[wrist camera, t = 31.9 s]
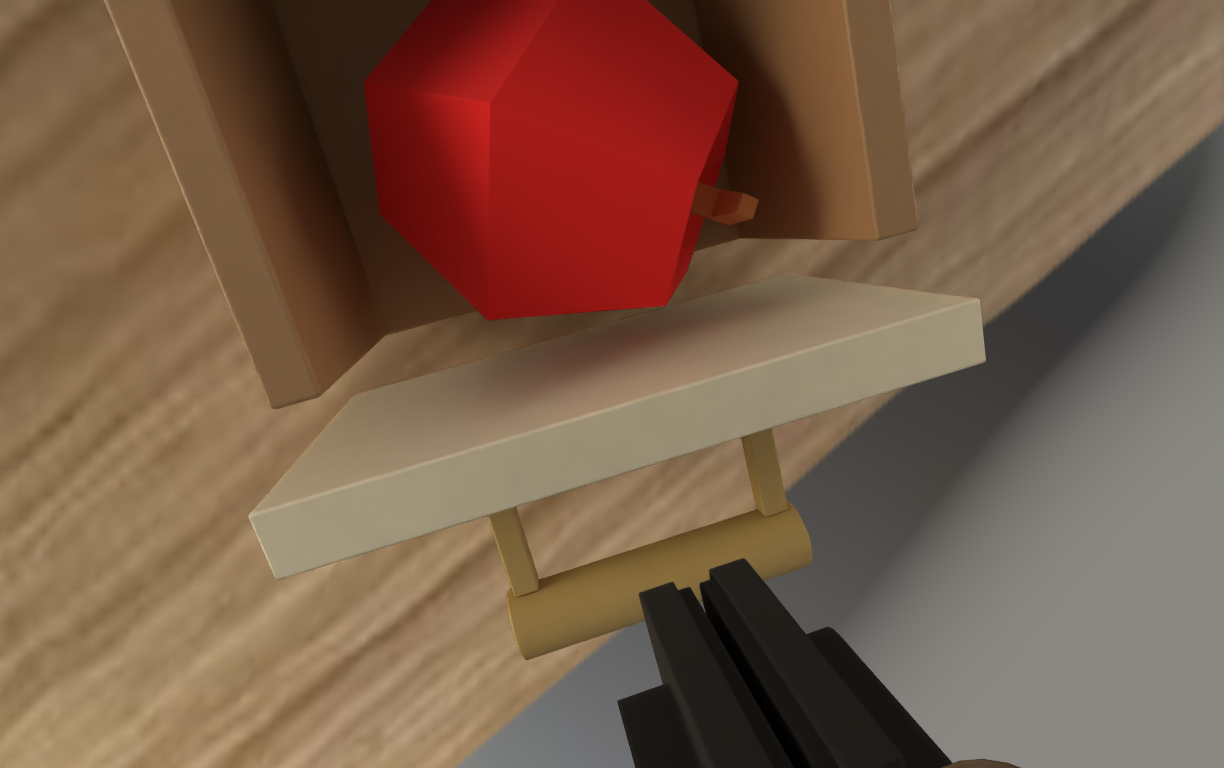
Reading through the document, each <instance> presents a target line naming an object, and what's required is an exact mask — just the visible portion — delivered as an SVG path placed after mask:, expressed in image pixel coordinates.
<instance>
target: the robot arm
mask: <svg viewBox="0 0 1224 768" xmlns="http://www.w3.org/2000/svg"><path fill="white" fill-rule="evenodd" d="M709 577H710V580H707V581H704V582H701V583H700V584H699V585H700V591H701V596H702V600H703V604H704V608H705V612H706V613H705V612H704V610H703V608H702V607H701V605H700V603H699V601H698V599H697V598H696V596H695V594H694V592H693V591H692V589H691V588H690V587H686V588H683V589H680V590H678V589H677V587H676V585H675V584H674V582H669V583H666V584H663V585H660V586H657V587H654V588H651V589H648V590H645V591H642V592H639V598H640V602H641V606H642V610H643V614H644V617H645V621H646V624H647V628H648V632H649V635H650V639H651V643H652V646H653V650H654V654H655V657H656V661H657V665H658V668H659V672H660V675H661V679H662V683H663V685H661V686H658V687H655V688H652V689H650V690H647V691H644V692H641V693H638V694H635V695H632V696H630V697H627V698H624V699H621V700H618V706H619V710H620V713H621V717H622V721H623V724H624V728H625V731H626V735H627V739H628V742H629V746H630V750H631V753H632V757H633V761H634V764H635V768H1020V767H1017V766H1015V765H1012V764H1010V763H1006V762H1000V761H992V760H986V759H976V760H963V761H958V762H955V763H952V762H951V761H950V760H949V758H948V757H947V756H946V755H945V754H944V753H943V752H942V750H941V749H940V748H939V747H938V746H937V745H936V744H935V743H934V741H933V740H932V739H931V738H930V737H929V736H928V735H927V733H926V732H924V730H923V729H922V728H921V727H920V726H919V724H918V723H917V722H916V721H915V720H914V719H913V718H912V717H911V715H910V714H909V713H908V712H907V711H906V710H905V709H904V707H903V706H902V705H901V704H900V703H899V702H898V701H897V699H896V698H895V697H894V696H893V695H892V694H891V693H890V692H889V690H888V689H887V688H886V687H885V686H884V685H883V684H882V683H881V681H880V680H879V679H878V678H877V677H876V676H875V675H874V674H873V672H872V671H871V670H870V669H869V668H868V667H867V666H866V664H865V663H864V662H863V661H862V660H861V659H860V658H859V656H858V655H857V654H856V653H855V652H854V651H853V650H852V649H851V647H850V646H849V645H848V644H847V643H846V642H845V641H844V639H843V638H842V637H841V636H840V635H839V634H838V633H837V632H836V631H835V630H834V629H832V628H829V627H825V628H823V629H820V630H817V631H814V632H811V633H809V634H805V632H804V631H803V630H802V629H801V627H800V626H799V625H798V624H797V622H796V621H795V620H794V619H793V617H792V616H791V615H790V614H789V612H788V611H787V610H786V609H785V607H784V606H783V605H782V604H781V602H780V601H779V600H778V599H777V597H776V596H775V595H774V594H773V593H772V591H771V590H770V589H769V587H768V586H767V585H766V584H765V582H764V581H763V580H762V579H761V577H760V576H759V575H758V574H757V572H756V571H755V570H754V569H753V567H752V566H751V565H750V564H749V562H748V561H747V560H746V559H745V558H741V559H738V560H735V561H732V562H729V563H726V564H723V565H720V566H717V567H714V568H711V569H710V570H709Z"/></svg>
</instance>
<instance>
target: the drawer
mask: <svg viewBox="0 0 1224 768" xmlns="http://www.w3.org/2000/svg"><path fill="white" fill-rule="evenodd" d="M430 1H431V0H104V2H105V4H106V7H107V9H108V12H109V14H110V17H111V19H112V21H113V24H114V26H115V29H116V31H117V34H118V36H119V39H120V41H121V44H122V46H123V48H124V51H125V53H126V56H127V58H128V61H129V63H130V66H131V68H132V71H133V73H134V75H135V78H136V80H137V83H138V85H139V88H140V90H141V93H142V95H143V97H144V100H145V102H146V105H147V107H148V110H149V112H150V115H151V117H152V120H153V122H154V124H155V127H156V129H157V132H158V134H159V137H160V139H161V142H162V144H163V147H164V149H165V151H166V154H167V156H168V159H169V161H170V164H171V166H172V169H173V171H174V173H175V176H176V178H177V181H178V183H179V186H180V188H181V191H182V193H183V196H184V198H185V200H186V203H187V205H188V208H189V210H190V213H191V215H192V218H193V220H194V223H195V225H196V227H197V230H198V232H199V235H200V237H201V240H202V242H203V245H204V247H205V249H206V252H207V254H208V257H209V259H210V262H211V264H212V267H213V269H214V272H215V274H216V276H217V279H218V281H219V284H220V286H221V289H222V291H223V294H224V296H225V299H226V301H227V303H228V306H229V308H230V311H231V313H232V316H233V318H234V321H235V323H236V325H237V328H238V330H239V333H240V335H241V338H242V340H243V343H244V345H245V348H246V350H247V352H248V355H249V357H250V360H251V362H252V365H253V367H254V370H255V372H256V375H257V377H258V379H259V382H260V384H261V387H262V389H263V392H264V394H265V397H266V399H267V401H268V404H269V406H270V407H271V408H272V409H279V408H282V407H286V406H289V405H293V404H296V403H300V402H304V401H307V400H311V399H314V398H318V397H319V396H321V395H322V394H323V393H324V392H325V391H326V390H327V389H328V388H329V387H330V386H331V385H332V384H334V383H335V382H336V381H337V380H338V379H339V378H340V377H341V376H342V375H343V374H344V373H345V372H347V371H348V370H349V369H350V368H351V367H352V366H353V365H354V364H355V363H356V362H357V361H358V360H359V359H361V358H362V357H363V356H364V355H365V354H366V353H367V352H368V351H369V350H370V349H371V348H372V347H374V346H375V345H376V344H377V343H378V342H379V341H380V340H381V339H382V338H383V337H384V336H386V335H389V334H393V333H397V332H400V331H404V330H407V329H411V328H415V327H418V326H422V325H426V324H429V323H433V322H437V321H440V320H444V319H448V318H451V317H455V316H459V315H462V314H466V313H470V312H473V311H477V309H476V308H474V307H473V306H472V305H471V304H470V303H469V302H468V301H467V300H466V299H465V298H464V297H463V296H462V295H461V294H460V293H459V292H458V291H457V290H456V289H455V288H454V287H453V286H452V285H451V284H450V283H449V282H448V281H447V280H446V279H445V278H444V277H443V276H442V275H441V274H440V273H439V272H438V271H437V270H436V269H435V268H434V267H433V266H432V265H431V264H430V263H429V262H428V261H427V260H426V259H425V258H424V257H423V256H422V255H421V254H420V253H419V252H418V251H417V250H416V249H415V248H414V247H413V246H412V245H411V244H410V243H409V242H408V241H407V240H406V239H405V238H404V237H403V236H402V235H401V234H400V233H399V232H398V231H397V230H396V229H394V228H393V227H392V226H391V225H390V224H389V223H388V222H387V221H386V220H385V219H384V218H383V217H382V216H381V215H380V214H379V207H378V198H377V190H376V182H375V173H374V165H373V157H372V148H371V140H370V132H369V123H368V115H367V107H366V98H365V90H364V81H365V80H366V79H367V77H368V76H369V75H370V74H371V73H372V71H373V70H374V69H375V68H376V66H377V65H378V64H379V63H380V62H381V60H382V59H383V58H384V57H385V56H386V54H387V53H388V52H389V51H390V49H391V48H392V47H393V46H394V45H395V43H396V42H397V41H398V40H399V39H400V37H401V36H402V35H403V34H404V32H405V31H406V30H407V29H408V28H409V26H410V25H411V24H412V23H413V22H414V20H415V19H416V18H417V17H418V16H419V14H420V13H421V12H422V11H423V9H424V8H425V7H426V6H427V5H428V3H429V2H430ZM647 1H648V2H649V3H650V4H651V5H652V6H654V7H655V8H656V9H657V10H658V11H659V12H660V13H662V14H663V15H664V16H665V17H666V18H667V19H668V20H670V21H671V22H672V23H673V24H674V25H675V26H676V27H677V28H679V29H680V30H681V31H682V32H683V33H684V34H685V35H687V36H688V37H689V38H690V39H691V40H692V41H693V42H695V43H696V44H697V45H698V46H699V47H700V48H701V49H703V50H704V51H705V52H706V53H707V54H708V55H709V56H710V57H712V58H713V59H714V60H715V61H716V62H717V63H718V64H720V65H721V66H722V67H723V68H724V69H725V70H726V71H728V72H729V73H730V74H731V75H732V76H733V77H734V78H735V79H737V80H738V81H739V83H738V89H737V94H736V99H735V104H734V109H733V115H732V120H731V125H730V130H729V136H728V141H727V146H726V151H725V157H724V160H723V163H722V166H721V169H720V172H719V175H718V178H717V181H716V184H715V188H718V189H723V190H728V191H734V192H739V193H744V194H746V195H749V196H751V197H754V198H756V199H759V201H758V204H757V207H756V210H755V213H754V216H753V219H749V220H746V221H743V222H739V223H736V224H732V225H726V224H723V223H720V222H716V221H713V220H710V219H707V218H704V221H703V224H702V227H701V230H700V233H699V236H698V239H697V242H696V245H695V248H694V251H697V250H700V249H704V248H708V247H711V246H715V245H719V244H722V243H726V242H730V241H733V240H737V239H741V238H747V239H816V240H882V239H886V238H889V237H893V236H897V235H900V234H904V233H907V232H911V231H914V230H916V229H918V227H919V225H918V217H917V209H916V201H915V193H914V185H913V177H912V169H911V161H910V153H909V145H908V137H907V129H906V121H905V113H904V105H903V97H902V89H901V81H900V73H899V65H898V57H897V49H896V41H895V33H894V25H893V17H892V9H891V1H890V0H647ZM985 360H986V358H985V349H984V339H983V329H982V319H981V309H980V301H979V299H976V298H969V297H961V296H954V295H946V294H938V293H931V292H923V291H916V290H908V289H900V288H893V287H885V286H878V285H870V284H863V283H855V282H847V281H840V280H832V279H825V278H817V277H810V276H802V275H794V274H787V273H785V274H781V275H778V276H774V277H771V278H767V279H764V280H760V281H756V282H753V283H749V284H746V285H742V286H739V287H735V288H732V289H728V290H724V291H721V292H717V293H714V294H710V295H707V296H703V297H700V298H696V299H693V300H689V301H685V302H682V303H678V304H675V305H671V306H668V307H664V308H661V309H657V310H653V311H650V312H646V313H643V314H639V315H636V316H632V317H629V318H625V319H621V320H618V321H614V322H611V323H607V324H604V325H600V326H597V327H593V328H590V329H586V330H582V331H579V332H575V333H572V334H568V335H565V336H561V337H558V338H554V339H550V340H547V341H543V342H540V343H536V344H533V345H529V346H526V347H522V348H519V349H515V350H511V351H508V352H504V353H501V354H497V355H494V356H490V357H487V358H483V359H479V360H476V361H472V362H469V363H465V364H462V365H458V366H455V367H451V368H447V369H444V370H440V371H437V372H433V373H430V374H426V375H423V376H419V377H416V378H412V379H408V380H405V381H401V382H398V383H394V384H391V385H387V386H384V387H380V388H376V389H373V390H369V391H366V392H362V393H359V394H355V395H353V396H352V398H351V399H350V400H349V401H348V402H347V403H346V404H345V406H344V407H343V408H342V409H341V410H340V411H339V412H338V414H337V415H336V416H335V417H334V418H333V419H332V420H331V422H330V423H329V424H328V425H327V426H326V427H325V428H324V430H323V431H322V432H321V433H320V434H319V435H318V436H317V438H316V439H315V440H314V441H313V442H312V443H311V444H310V446H309V447H308V448H307V449H306V450H305V451H304V452H303V454H302V455H301V456H300V457H299V458H298V459H297V460H296V462H295V463H294V464H293V465H292V466H291V467H290V468H289V470H288V471H287V472H286V473H285V474H284V475H283V476H282V477H281V479H280V480H279V481H278V482H277V483H276V484H275V485H274V487H273V488H272V489H271V490H270V491H269V492H268V493H267V495H266V496H265V497H264V498H263V499H262V500H261V501H260V503H259V504H258V505H257V506H256V507H255V508H254V509H253V511H252V512H251V513H250V514H249V519H250V521H251V524H252V526H253V528H254V530H255V533H256V535H257V537H258V540H259V542H260V544H261V547H262V549H263V551H264V553H265V556H266V558H267V560H268V563H269V565H270V567H271V569H272V572H273V574H274V576H275V578H276V579H277V580H280V579H284V578H287V577H290V576H293V575H297V574H300V573H303V572H306V571H310V570H313V569H316V568H319V567H322V566H326V565H329V564H332V563H335V562H339V561H342V560H345V559H348V558H352V557H355V556H358V555H361V554H365V553H368V552H371V551H374V550H378V549H381V548H384V547H387V546H391V545H394V544H397V543H400V542H404V541H407V540H410V539H413V538H417V537H420V536H423V535H426V534H430V533H433V532H436V531H439V530H442V529H446V528H449V527H452V526H455V525H459V524H462V523H465V522H468V521H472V520H475V519H478V518H481V517H485V516H488V520H489V523H490V526H491V529H492V532H493V535H494V538H495V541H496V544H497V547H498V550H499V553H500V556H501V559H502V562H503V565H504V568H505V571H506V574H507V577H508V580H509V583H510V586H511V589H509V590H508V591H507V595H506V599H507V607H508V613H509V618H510V622H511V626H512V630H513V634H514V637H515V641H516V644H517V647H518V649H519V652H520V654H521V656H522V657H523V659H524V660H529V659H532V658H535V657H538V656H541V655H544V654H547V653H550V652H553V651H556V650H559V649H562V648H565V647H568V646H571V645H574V644H577V643H580V642H583V641H586V640H589V639H592V638H595V637H598V636H601V635H604V634H607V633H610V632H612V631H615V630H618V629H621V628H624V627H627V626H630V625H633V624H636V623H639V622H642V621H645V617H644V614H643V610H642V606H641V602H640V598H639V592H642V591H645V590H648V589H651V588H654V587H657V586H660V585H663V584H666V583H669V582H674V584H675V585H676V587H677V589H678V590H680V589H683V588H686V587H690V588H691V589H692V591H693V592H694V594H695V596H696V598H697V599H698V601H699V602H702V601H703V600H702V596H701V591H700V585H699V584H700V583H701V582H704V581H707V580H710V577H709V570H710V569H711V568H714V567H717V566H720V565H723V564H726V563H729V562H732V561H735V560H738V559H741V558H745V559H746V560H747V561H748V562H749V564H750V565H751V566H752V567H753V569H754V570H755V571H756V572H757V574H758V575H759V576H760V577H761V579H762V580H763V581H765V580H768V579H771V578H774V577H776V576H780V575H783V574H786V573H789V572H792V571H795V570H797V569H801V568H804V567H806V566H809V565H810V564H811V563H812V558H813V554H812V546H811V542H810V539H809V535H808V532H807V530H806V527H805V525H804V523H803V521H802V519H801V517H800V515H799V514H798V512H797V511H796V509H795V508H794V507H793V506H792V504H790V503H789V502H787V501H786V496H785V491H784V486H783V481H782V476H781V471H780V465H779V460H778V455H777V450H776V445H775V440H774V435H773V430H772V428H773V427H777V426H780V425H783V424H786V423H790V422H793V421H796V420H799V419H802V418H806V417H809V416H812V415H815V414H819V413H822V412H825V411H828V410H832V409H835V408H838V407H841V406H845V405H848V404H851V403H854V402H858V401H861V400H864V399H867V398H871V397H874V396H877V395H880V394H884V393H887V392H890V391H893V390H897V389H900V388H903V387H906V386H910V385H913V384H916V383H919V382H922V381H925V380H929V379H932V378H935V377H938V376H942V375H945V374H948V373H951V372H955V371H958V370H961V369H964V368H968V367H971V366H974V365H978V364H981V363H984V362H985ZM738 438H741V439H742V443H743V448H744V453H745V458H746V462H747V467H748V472H749V476H750V481H751V486H752V491H753V495H754V500H755V505H756V508H757V510H754V511H751V512H748V513H745V514H741V515H738V516H735V517H732V518H729V519H726V520H723V521H720V522H717V523H713V524H710V525H707V526H704V527H701V528H698V529H695V530H692V531H689V532H685V533H682V534H679V535H676V536H673V537H670V538H667V539H664V540H661V541H658V542H654V543H651V544H648V545H645V546H642V547H639V548H636V549H633V550H630V551H626V552H623V553H620V554H617V555H614V556H611V557H608V558H605V559H602V560H599V561H595V562H592V563H589V564H586V565H583V566H580V567H577V568H574V569H571V570H567V571H564V572H561V573H558V574H555V575H552V576H549V577H546V578H543V579H540V580H539V579H538V574H537V571H536V568H535V565H534V562H533V558H532V555H531V552H530V549H529V546H528V543H527V540H526V536H525V533H524V530H523V527H522V524H521V521H520V517H519V514H518V511H517V508H516V507H517V506H520V505H524V504H527V503H530V502H533V501H537V500H540V499H543V498H546V497H550V496H553V495H556V494H559V493H562V492H566V491H569V490H572V489H575V488H579V487H582V486H585V485H588V484H592V483H595V482H598V481H601V480H605V479H608V478H611V477H614V476H618V475H621V474H624V473H627V472H631V471H634V470H637V469H640V468H644V467H647V466H650V465H653V464H657V463H660V462H663V461H666V460H670V459H673V458H676V457H679V456H682V455H686V454H689V453H692V452H695V451H699V450H702V449H705V448H708V447H712V446H715V445H718V444H721V443H725V442H728V441H731V440H734V439H738Z"/></svg>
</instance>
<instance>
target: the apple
mask: <svg viewBox="0 0 1224 768" xmlns="http://www.w3.org/2000/svg"><path fill="white" fill-rule="evenodd" d="M738 83H739V81H738V80H737V79H735V78H734V77H733V76H732V75H731V74H730V73H729V72H728V71H726V70H725V69H724V68H723V67H722V66H721V65H720V64H718V63H717V62H716V61H715V60H714V59H713V58H712V57H710V56H709V55H708V54H707V53H706V52H705V51H704V50H703V49H701V48H700V47H699V46H698V45H697V44H696V43H695V42H693V41H692V40H691V39H690V38H689V37H688V36H687V35H685V34H684V33H683V32H682V31H681V30H680V29H679V28H677V27H676V26H675V25H674V24H673V23H672V22H671V21H670V20H668V19H667V18H666V17H665V16H664V15H663V14H662V13H660V12H659V11H658V10H657V9H656V8H655V7H654V6H652V5H651V4H650V3H649V2H648V1H647V0H431V1H430V2H429V3H428V5H427V6H426V7H425V8H424V9H423V11H422V12H421V13H420V14H419V16H418V17H417V18H416V19H415V20H414V22H413V23H412V24H411V25H410V26H409V28H408V29H407V30H406V31H405V32H404V34H403V35H402V36H401V37H400V39H399V40H398V41H397V42H396V43H395V45H394V46H393V47H392V48H391V49H390V51H389V52H388V53H387V54H386V56H385V57H384V58H383V59H382V60H381V62H380V63H379V64H378V65H377V66H376V68H375V69H374V70H373V71H372V73H371V74H370V75H369V76H368V77H367V79H366V80H365V81H364V90H365V98H366V107H367V115H368V123H369V132H370V140H371V148H372V157H373V165H374V173H375V182H376V190H377V198H378V207H379V214H380V215H381V216H382V217H383V218H384V219H385V220H386V221H387V222H388V223H389V224H390V225H391V226H392V227H393V228H394V229H396V230H397V231H398V232H399V233H400V234H401V235H402V236H403V237H404V238H405V239H406V240H407V241H408V242H409V243H410V244H411V245H412V246H413V247H414V248H415V249H416V250H417V251H418V252H419V253H420V254H421V255H422V256H423V257H424V258H425V259H426V260H427V261H428V262H429V263H430V264H431V265H432V266H433V267H434V268H435V269H436V270H437V271H438V272H439V273H440V274H441V275H442V276H443V277H444V278H445V279H446V280H447V281H448V282H449V283H450V284H451V285H452V286H453V287H454V288H455V289H456V290H457V291H458V292H459V293H460V294H461V295H462V296H463V297H464V298H465V299H466V300H467V301H468V302H469V303H470V304H471V305H472V306H473V307H474V308H476V309H477V310H478V311H479V312H480V313H481V314H482V315H483V316H484V317H485V318H486V319H487V320H496V319H508V318H520V317H533V316H545V315H557V314H570V313H582V312H594V311H606V310H619V309H631V308H643V307H656V306H666V304H667V303H668V301H669V300H670V298H671V296H672V295H673V293H674V292H675V290H676V288H677V287H678V285H679V284H680V282H681V280H682V279H683V277H684V276H685V274H686V272H687V269H688V266H689V263H690V260H691V257H692V254H693V251H694V248H695V245H696V242H697V239H698V236H699V233H700V230H701V227H702V224H703V221H704V218H707V219H710V220H713V221H716V222H720V223H723V224H726V225H732V224H736V223H739V222H743V221H746V220H749V219H753V216H754V213H755V210H756V207H757V204H758V201H759V199H756V198H754V197H751V196H749V195H746V194H744V193H739V192H734V191H728V190H723V189H718V188H715V184H716V181H717V178H718V175H719V172H720V169H721V166H722V163H723V160H724V157H725V151H726V146H727V141H728V136H729V130H730V125H731V120H732V115H733V109H734V104H735V99H736V94H737V89H738Z"/></svg>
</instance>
